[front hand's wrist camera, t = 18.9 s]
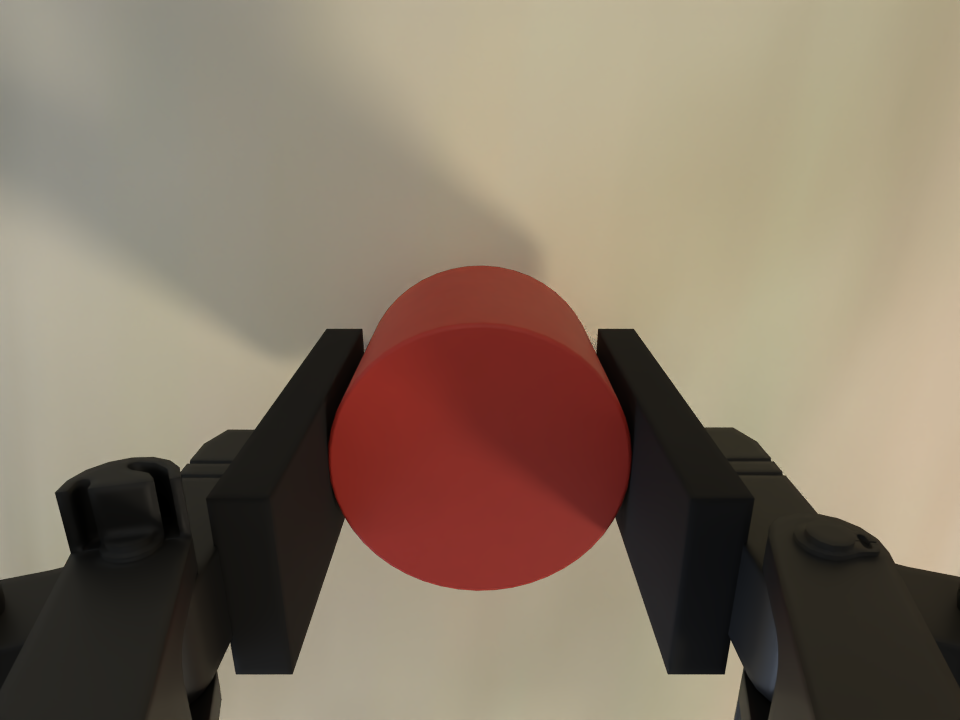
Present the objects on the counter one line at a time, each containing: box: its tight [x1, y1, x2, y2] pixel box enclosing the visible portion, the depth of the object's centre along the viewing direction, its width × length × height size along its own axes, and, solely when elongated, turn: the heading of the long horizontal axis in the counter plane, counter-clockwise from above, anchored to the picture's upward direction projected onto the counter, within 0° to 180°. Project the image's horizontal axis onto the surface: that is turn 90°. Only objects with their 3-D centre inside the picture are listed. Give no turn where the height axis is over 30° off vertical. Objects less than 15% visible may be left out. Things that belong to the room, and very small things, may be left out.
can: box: [328, 266, 632, 591], centre depth 13 cm, size 5×5×4 cm
